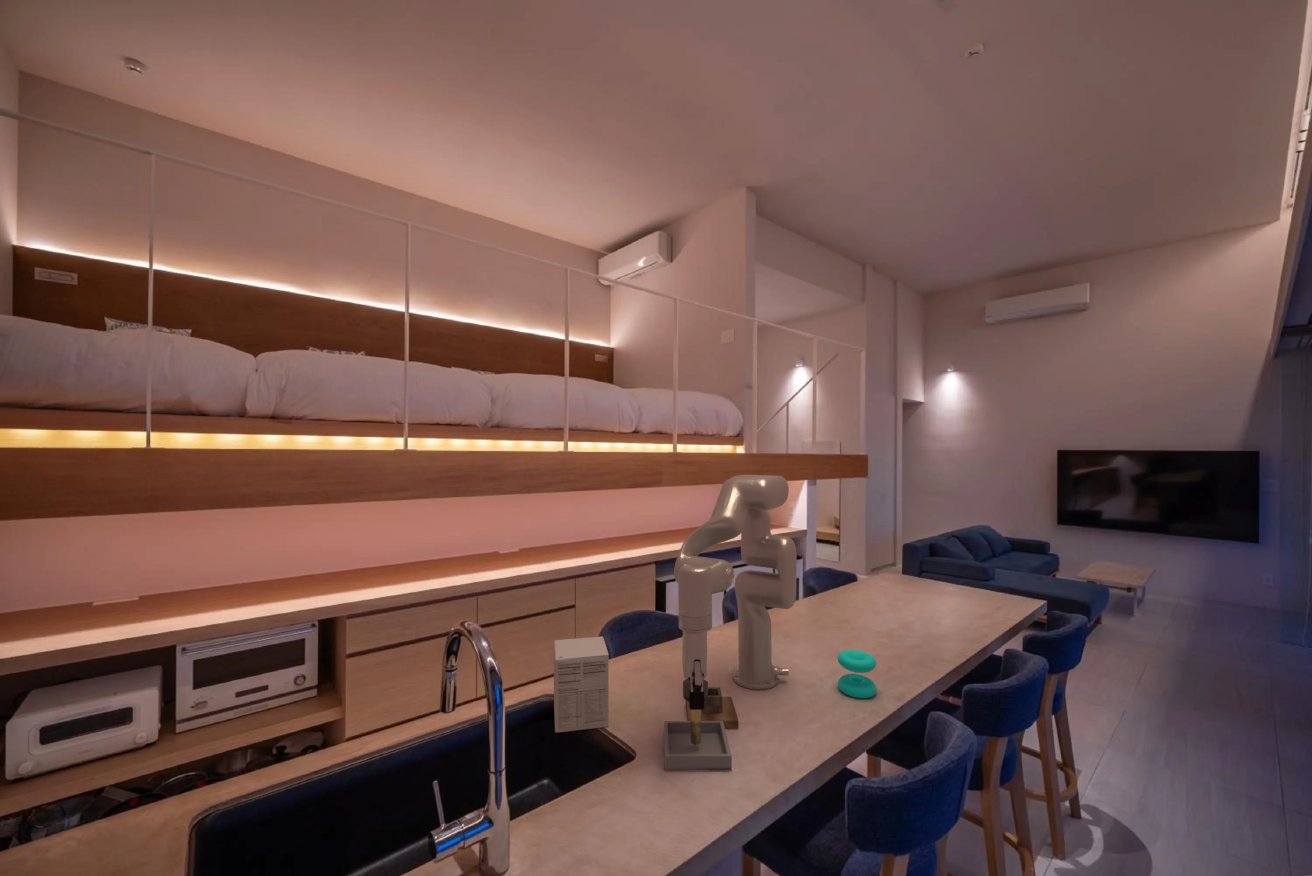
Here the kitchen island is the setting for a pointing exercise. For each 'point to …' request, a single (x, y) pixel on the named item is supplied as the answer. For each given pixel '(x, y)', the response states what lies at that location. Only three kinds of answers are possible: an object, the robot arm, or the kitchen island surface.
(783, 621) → the kitchen island surface
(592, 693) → the supplement box
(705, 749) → the tray
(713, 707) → the eye block
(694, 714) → the tan peg with head
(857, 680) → the donuts
